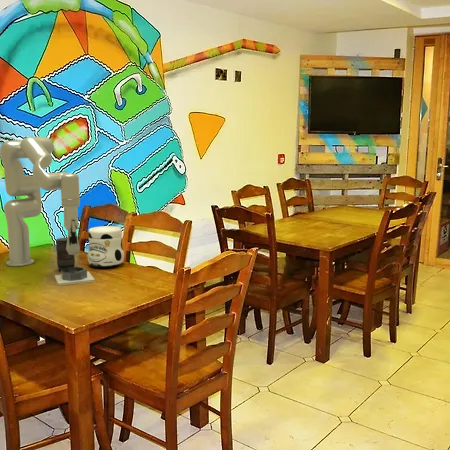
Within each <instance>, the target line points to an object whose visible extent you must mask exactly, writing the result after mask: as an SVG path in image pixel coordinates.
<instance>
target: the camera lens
mask: <svg viewBox="0 0 450 450" xmlns="http://www.w3.org/2000/svg"><path fill="white" fill-rule="evenodd" d="M67 239H68V237H59V238H57V239H55V240H56V242H55V248H56V265H57V268H58V271H59V272H60V273H61V269H64V268H67V267H76V266H75V265H76V264H75V263H76V259H75V255H69V254H68V252H67V250H66V245H67Z"/></svg>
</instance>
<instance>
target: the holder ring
mask: <svg viewBox="0 0 450 450" xmlns="http://www.w3.org/2000/svg"><path fill="white" fill-rule="evenodd" d="M87 272H88V269H87V267H85V266H74V267H67V268H64V269H61V272H60V275H61V278H62V280H68V281H75V280H82V279H84V278H87Z"/></svg>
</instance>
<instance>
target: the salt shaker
mask: <svg viewBox="0 0 450 450" xmlns="http://www.w3.org/2000/svg"><path fill="white" fill-rule="evenodd" d="M76 227H77V226H76ZM71 229H72V228H71ZM68 230H69V229H68ZM68 230H67V238H68V239H67V245H66V250H67V252H68V254H69V255H74V256H75V255H78V254H79V252H80V249H81V247H80V242H79V238H78V236H77V244H76V243H75V244H72V242H71V245H70V243H69V237H70V232H69V231H68ZM77 230H78V229H76V231H77Z"/></svg>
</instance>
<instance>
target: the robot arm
mask: <svg viewBox="0 0 450 450" xmlns="http://www.w3.org/2000/svg"><path fill="white" fill-rule="evenodd" d="M54 147H55V146H54V143H53V141H52V139H51V138H50V137H48V136H27V137H24V138H22V139H21V140H20V139H19V140H18V139H17V140H14V139H12V140H7V141H4V142H2V143H1V146H0V159H1V163H2V166H3V172H4V183H5V185H4V186H5V190H6V191H5V192H6V194H7V195H8V196H9V197H24V196H27V198H15V199H11V200H8V201H6V202H5V203H4V205H3V212H4V216H5V219H6V226H7V239H8V252H9V260H7V261H6V266H10V267H25V266H29V265H33V264H34V263H35V259H33V258H31V245H30V232H29V231H30V228H29V226H28V223H26V221H25V220H24V219H27V218H35V217H39V216H40V215H41V213H42V209H43V207H42V193H41V189H42V190H44V191H47V192H49V191H50V192H51V191H60V197H61V198H60V200H61V207H63V227H64V229H65V230H66V231H67V232H68V231H69V232H70V237H69V243H70V245H71V242H72V244H75V243H76V244H77V237H78V233H77V230H79V212H78V207H80V205H81V199H80V197H81V196H80V179H79V178H80V177H79V175H78V174H76V173H70V172H66V171H64V172H63V171H61V172H48V173H47V172H46V171H44V170H46V169H47V168H49V166H51V163H52V162H53V158H52V155H51V154H52V153H53V152H54ZM19 159H28V160H29V161H30V162H31V163H32V165H33V167H32V175H24V167H23V164H22V163H21V162H20V160H19ZM76 226H77V227H76ZM71 228H72V229H71ZM68 229H69V230H68ZM76 229H77V230H76Z"/></svg>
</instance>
